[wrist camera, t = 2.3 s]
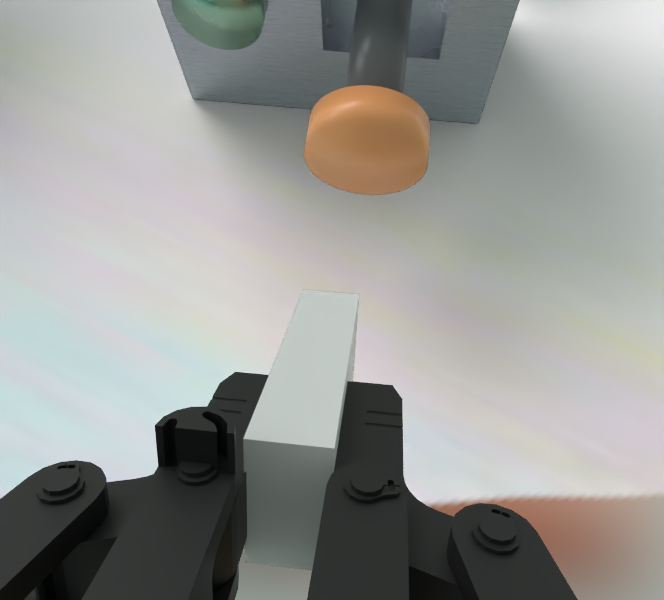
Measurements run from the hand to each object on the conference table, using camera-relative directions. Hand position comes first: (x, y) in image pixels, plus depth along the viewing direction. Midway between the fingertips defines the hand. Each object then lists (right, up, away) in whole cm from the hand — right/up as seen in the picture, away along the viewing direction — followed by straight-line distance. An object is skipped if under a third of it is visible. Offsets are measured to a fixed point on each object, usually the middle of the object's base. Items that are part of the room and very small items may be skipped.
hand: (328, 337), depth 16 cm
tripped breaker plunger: (+3, +13, +17) cm, 22 cm away
